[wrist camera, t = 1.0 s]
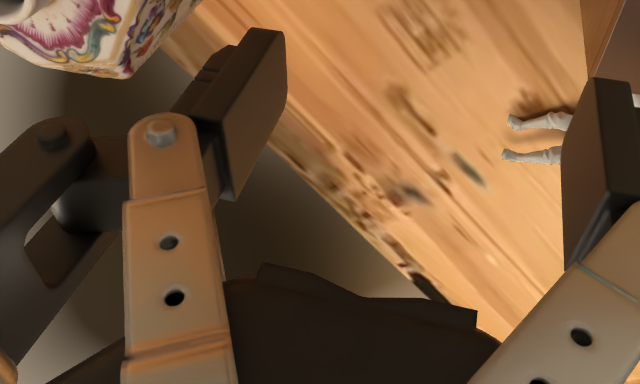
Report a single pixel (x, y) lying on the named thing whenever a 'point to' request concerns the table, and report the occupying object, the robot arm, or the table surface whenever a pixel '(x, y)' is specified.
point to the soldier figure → (546, 121)
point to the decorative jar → (90, 32)
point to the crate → (612, 40)
